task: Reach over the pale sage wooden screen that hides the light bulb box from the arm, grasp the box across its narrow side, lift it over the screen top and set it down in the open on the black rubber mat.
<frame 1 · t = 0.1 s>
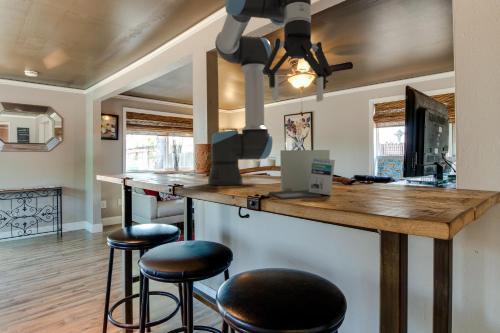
hand: (297, 100, 83), 28 cm above the worktop, fingers open, 13 cm apart
light bulb box: (318, 192, 92), on the worktop, touching mat
screen: (305, 190, 102), on the worktop
mat: (293, 195, 89), on the worktop
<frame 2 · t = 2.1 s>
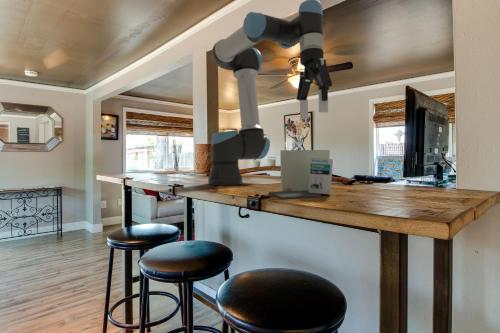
hand: (313, 116, 95), 25 cm above the worktop, fingers open, 13 cm apart
nothing on the worktop moved.
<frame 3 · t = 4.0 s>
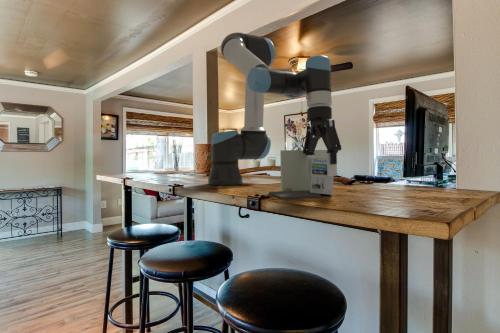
hand: (320, 175, 91), 6 cm above the worktop, fingers open, 13 cm apart
nothing on the worktop moved.
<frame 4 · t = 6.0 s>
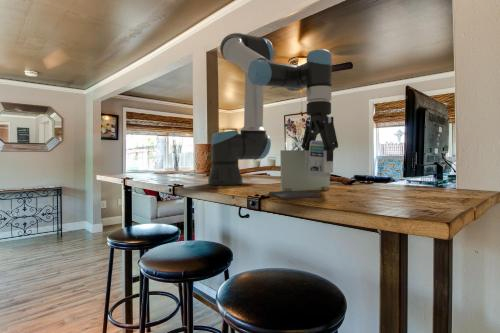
hand: (318, 171, 92), 7 cm above the worktop, fingers closed on light bulb box, 12 cm apart
light bulb box: (317, 176, 92), point 6 cm above the worktop, touching gripper
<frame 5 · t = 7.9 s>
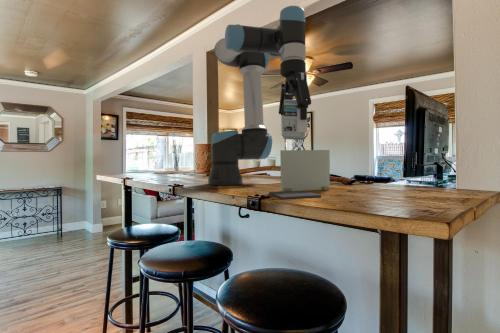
hand: (293, 133, 88), 19 cm above the worktop, fingers closed on light bulb box, 12 cm apart
light bulb box: (293, 139, 88), point 17 cm above the worktop, touching gripper
when the fingers open (3 cm above the worktop, at t = 11.2 s): light bulb box drops 2 cm, resting on mat.
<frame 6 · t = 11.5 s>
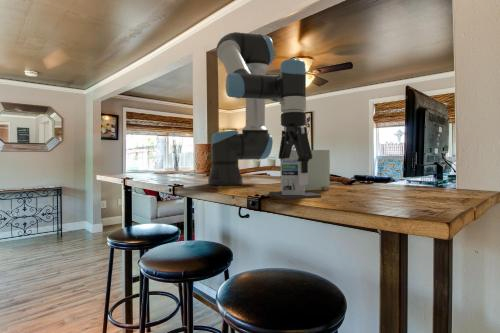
hand: (293, 182, 89), 4 cm above the worktop, fingers open, 13 cm apart
light bulb box: (293, 194, 89), resting on mat
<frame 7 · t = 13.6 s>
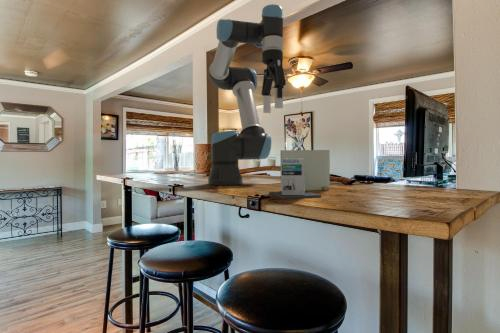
hand: (272, 110, 107), 29 cm above the worktop, fingers open, 13 cm apart
nothing on the worktop moved.
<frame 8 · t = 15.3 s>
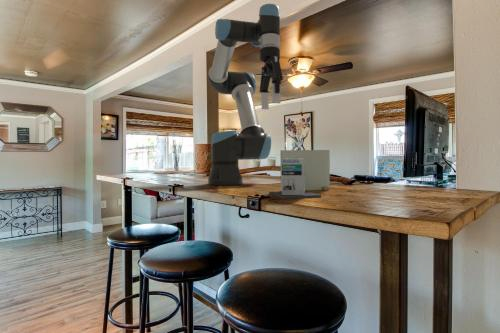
hand: (270, 106, 109), 31 cm above the worktop, fingers open, 13 cm apart
nothing on the worktop moved.
at the end: light bulb box 0.1 cm from the mat (horizontally); light bulb box resting on mat; light bulb box tilted 0° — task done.
